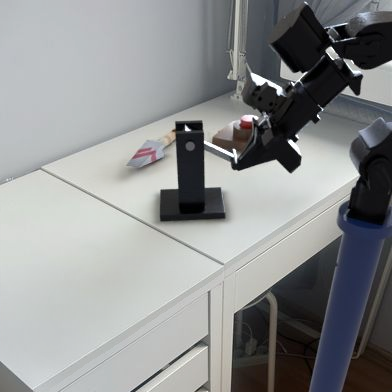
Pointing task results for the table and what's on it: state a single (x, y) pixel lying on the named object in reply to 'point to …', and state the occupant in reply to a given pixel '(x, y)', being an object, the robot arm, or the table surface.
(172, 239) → the table surface
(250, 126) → the button
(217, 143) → the button block
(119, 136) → the table surface
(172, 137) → the garden trowel
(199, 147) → the bracket
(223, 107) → the table surface
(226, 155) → the lever
